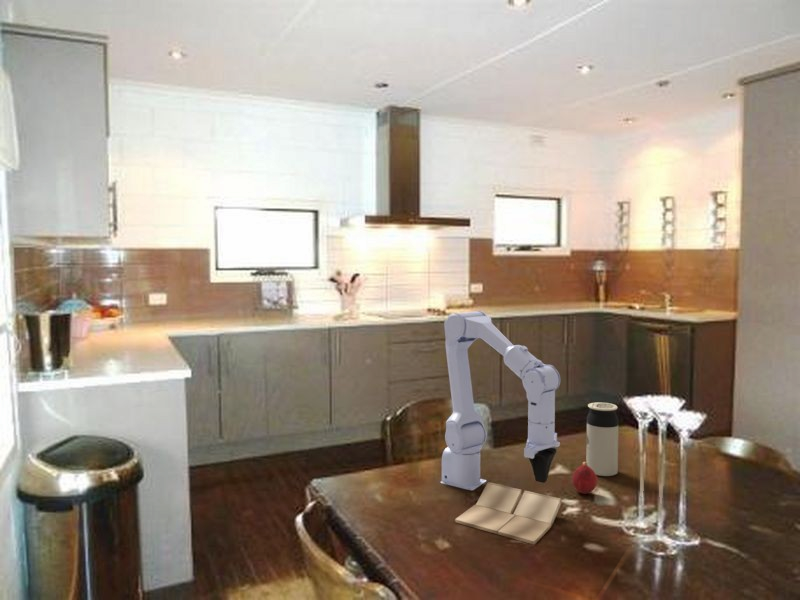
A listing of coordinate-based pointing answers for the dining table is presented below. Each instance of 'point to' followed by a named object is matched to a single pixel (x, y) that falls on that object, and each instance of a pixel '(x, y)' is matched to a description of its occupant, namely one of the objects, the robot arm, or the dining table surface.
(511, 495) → the plank
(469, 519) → the laid row
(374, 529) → the dining table surface
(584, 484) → the onion
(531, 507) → the plank
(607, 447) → the travel mug
